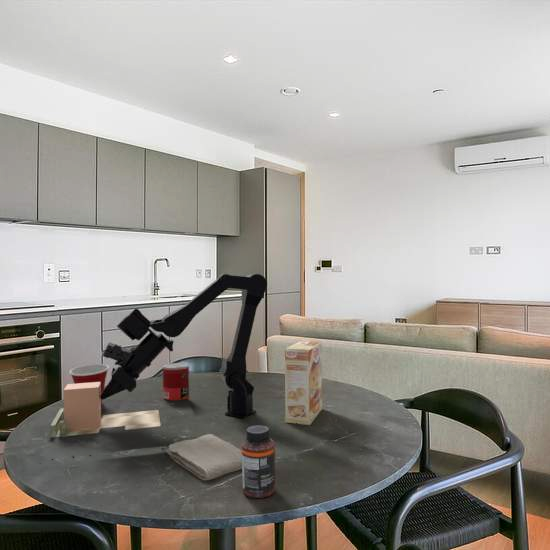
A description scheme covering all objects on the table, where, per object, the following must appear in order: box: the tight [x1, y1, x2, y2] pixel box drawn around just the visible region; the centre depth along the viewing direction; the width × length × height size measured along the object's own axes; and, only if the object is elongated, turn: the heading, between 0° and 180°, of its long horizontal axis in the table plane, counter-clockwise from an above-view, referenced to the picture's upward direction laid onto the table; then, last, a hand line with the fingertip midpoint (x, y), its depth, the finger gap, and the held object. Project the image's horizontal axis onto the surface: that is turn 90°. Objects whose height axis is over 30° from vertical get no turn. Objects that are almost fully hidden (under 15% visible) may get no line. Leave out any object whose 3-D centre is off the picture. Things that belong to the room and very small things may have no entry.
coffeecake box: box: [284, 340, 323, 426], centre depth 123 cm, size 15×7×20 cm, turn 161°
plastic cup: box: [69, 363, 110, 405], centre depth 132 cm, size 11×11×12 cm
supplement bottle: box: [241, 425, 276, 499], centre depth 81 cm, size 6×6×11 cm
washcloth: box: [166, 433, 242, 481], centre depth 95 cm, size 12×18×3 cm, turn 40°
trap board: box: [50, 407, 161, 439], centre depth 115 cm, size 25×14×4 cm, turn 107°
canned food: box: [162, 362, 190, 401], centre depth 139 cm, size 8×8×11 cm
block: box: [63, 382, 102, 431], centre depth 113 cm, size 8×6×10 cm
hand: (101, 398), depth 115 cm, fingers closed, pressing on block
